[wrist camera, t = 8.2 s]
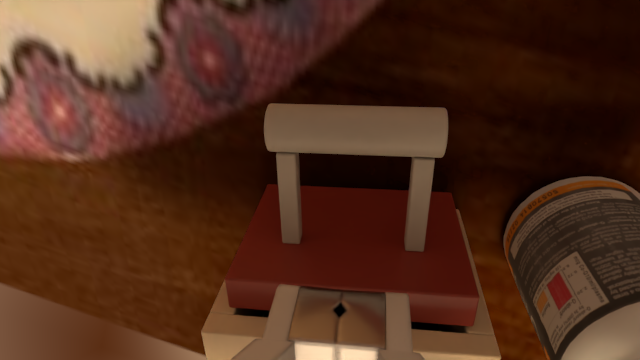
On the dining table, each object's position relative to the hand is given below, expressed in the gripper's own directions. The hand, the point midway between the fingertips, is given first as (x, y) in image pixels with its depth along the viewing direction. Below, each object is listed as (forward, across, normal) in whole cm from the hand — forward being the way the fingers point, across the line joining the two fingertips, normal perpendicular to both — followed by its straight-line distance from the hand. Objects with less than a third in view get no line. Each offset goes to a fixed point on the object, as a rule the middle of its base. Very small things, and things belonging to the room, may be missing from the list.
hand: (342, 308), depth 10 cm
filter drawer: (+8, 0, +3) cm, 8 cm away
